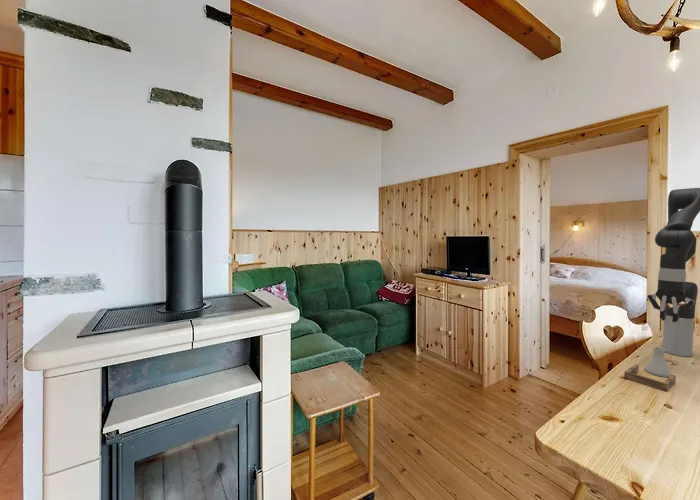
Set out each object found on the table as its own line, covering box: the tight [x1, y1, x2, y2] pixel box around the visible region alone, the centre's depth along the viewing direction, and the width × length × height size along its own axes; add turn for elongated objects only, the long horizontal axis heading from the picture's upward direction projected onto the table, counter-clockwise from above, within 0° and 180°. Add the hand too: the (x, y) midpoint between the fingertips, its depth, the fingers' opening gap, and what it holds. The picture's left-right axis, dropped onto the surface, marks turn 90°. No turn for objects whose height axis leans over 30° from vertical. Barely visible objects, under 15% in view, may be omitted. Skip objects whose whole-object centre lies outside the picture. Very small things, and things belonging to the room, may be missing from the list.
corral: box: [623, 363, 676, 392], centre depth 108 cm, size 12×11×2 cm
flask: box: [643, 346, 672, 378], centre depth 114 cm, size 7×7×10 cm
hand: (668, 320), depth 119 cm, fingers closed
